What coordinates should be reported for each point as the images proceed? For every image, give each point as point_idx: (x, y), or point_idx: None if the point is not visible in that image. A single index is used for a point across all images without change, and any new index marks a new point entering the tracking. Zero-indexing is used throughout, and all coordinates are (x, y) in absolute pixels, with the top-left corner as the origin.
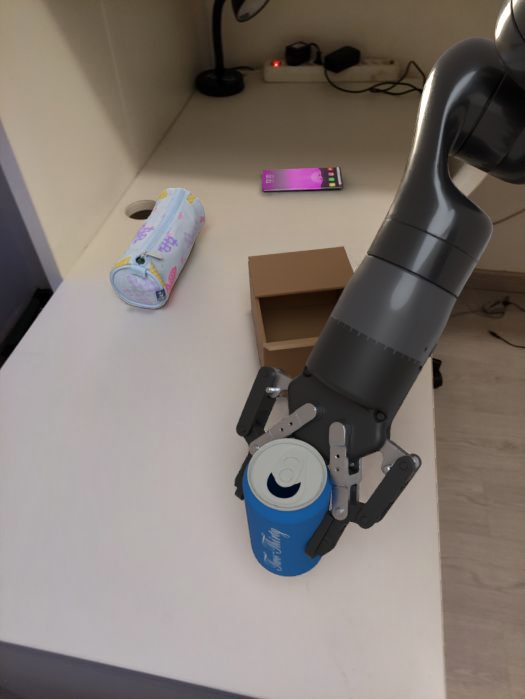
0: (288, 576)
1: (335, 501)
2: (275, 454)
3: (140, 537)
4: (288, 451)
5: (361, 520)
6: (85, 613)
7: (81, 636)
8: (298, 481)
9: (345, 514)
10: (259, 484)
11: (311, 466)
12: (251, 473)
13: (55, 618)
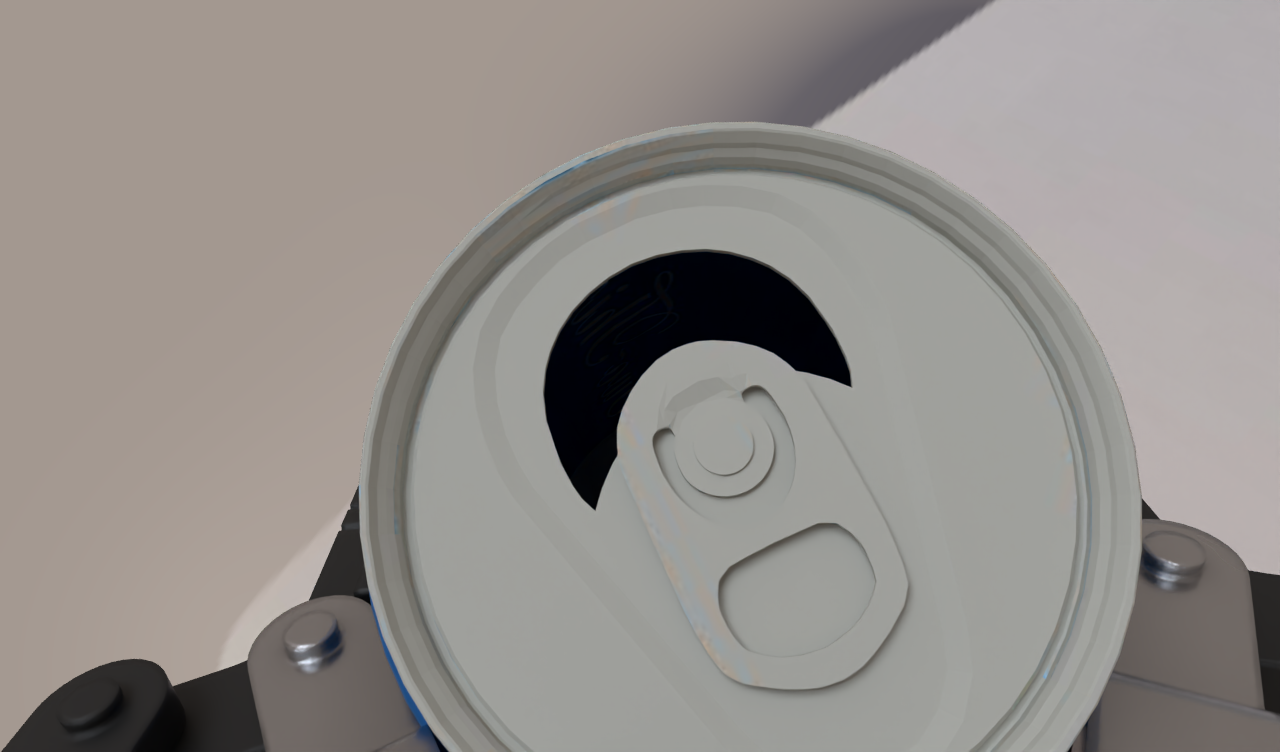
0: (592, 447)
1: (362, 670)
2: (978, 542)
3: (1131, 312)
4: (922, 669)
5: (108, 688)
6: (1020, 91)
7: (971, 59)
8: (611, 496)
9: (262, 654)
10: (826, 228)
11: (631, 707)
12: (961, 254)
13: (1059, 31)
